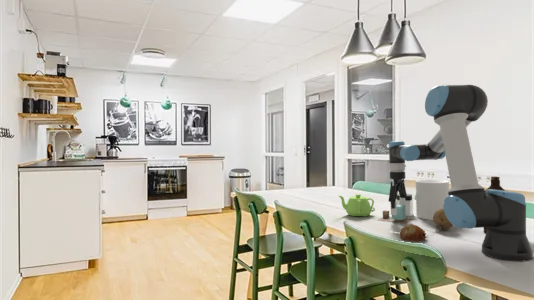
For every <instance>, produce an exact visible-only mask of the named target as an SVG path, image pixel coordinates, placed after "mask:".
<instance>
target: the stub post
mask: <svg viewBox="0 0 534 300" xmlns="http://www.w3.org/2000/svg"><path fill="white" fill-rule="evenodd" d="M382 217H383V218H389V217H390V210H386V209H385V210H382Z"/></svg>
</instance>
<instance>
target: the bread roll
mask: <svg viewBox="0 0 534 300" xmlns="http://www.w3.org/2000/svg"><path fill="white" fill-rule="evenodd" d="M425 231H426V230H425V229H423V228H422V227H420V226H418V225H416V224H413V223H407V224H405V225H404V226H403V227H401V229H400V231H399V237H400V239H401V240H402V241H406V242H418V243H419V242H424V241H425V239H427V236H426V235H427V233H426V232H425Z"/></svg>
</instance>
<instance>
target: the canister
mask: <svg viewBox="0 0 534 300" xmlns="http://www.w3.org/2000/svg"><path fill="white" fill-rule="evenodd" d="M449 190H450V181H449V180H444V179H416V180H415V205H416V206H415V207H416V208H415V211H416V212H415V214H416V217H417V218H419V219H423V220H430V221H433V216H434V213H435V212H436V211H437V210H439V209H444V208H443V204H444V200H445V198H446V197H448V196H449V195H448V191H449Z"/></svg>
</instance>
